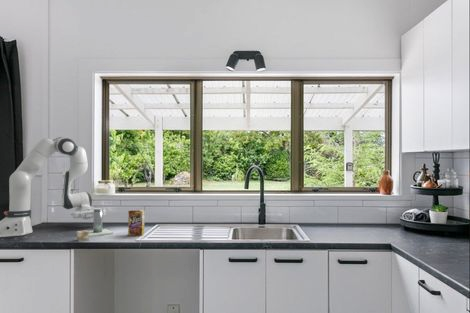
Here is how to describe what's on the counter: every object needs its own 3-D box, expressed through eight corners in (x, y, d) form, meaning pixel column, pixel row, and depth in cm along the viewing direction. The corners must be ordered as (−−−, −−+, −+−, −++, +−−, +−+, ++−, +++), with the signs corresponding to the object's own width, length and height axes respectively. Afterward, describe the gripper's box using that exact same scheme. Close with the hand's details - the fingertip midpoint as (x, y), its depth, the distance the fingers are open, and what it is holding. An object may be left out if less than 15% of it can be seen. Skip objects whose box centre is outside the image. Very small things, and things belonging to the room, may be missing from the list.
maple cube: (79, 241, 184) (79, 232, 184) (76, 240, 188) (77, 231, 188) (88, 240, 187) (88, 231, 187) (86, 238, 191) (86, 230, 191)
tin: (94, 233, 201) (95, 210, 202) (91, 231, 205) (92, 209, 206) (103, 232, 205) (104, 209, 205) (100, 230, 209) (101, 208, 209)
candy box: (127, 235, 199) (128, 210, 200) (130, 234, 203) (130, 209, 204) (141, 236, 198) (142, 210, 199) (144, 234, 203) (144, 209, 203)
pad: (89, 237, 195) (89, 235, 195) (82, 233, 206) (82, 231, 206) (113, 233, 204) (113, 232, 204) (105, 230, 215) (105, 228, 215)
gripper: (70, 209, 219) (75, 211, 208) (101, 207, 232) (108, 209, 221) (70, 218, 219) (75, 221, 208) (101, 216, 232) (108, 218, 221)
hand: (92, 215), depth 215 cm, fingers open, 8 cm apart
